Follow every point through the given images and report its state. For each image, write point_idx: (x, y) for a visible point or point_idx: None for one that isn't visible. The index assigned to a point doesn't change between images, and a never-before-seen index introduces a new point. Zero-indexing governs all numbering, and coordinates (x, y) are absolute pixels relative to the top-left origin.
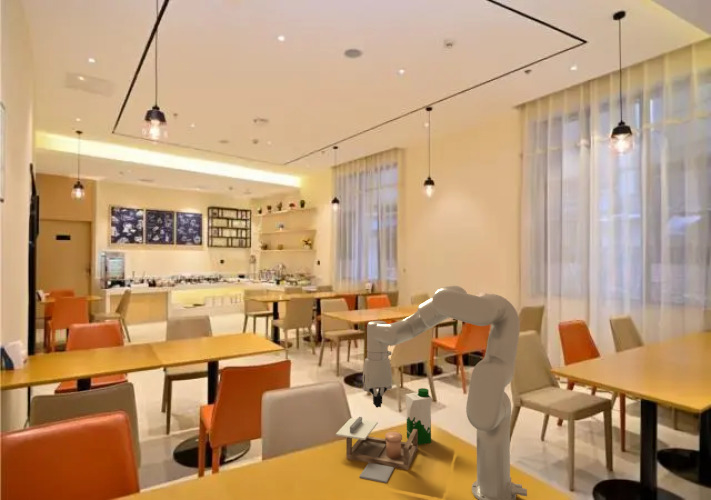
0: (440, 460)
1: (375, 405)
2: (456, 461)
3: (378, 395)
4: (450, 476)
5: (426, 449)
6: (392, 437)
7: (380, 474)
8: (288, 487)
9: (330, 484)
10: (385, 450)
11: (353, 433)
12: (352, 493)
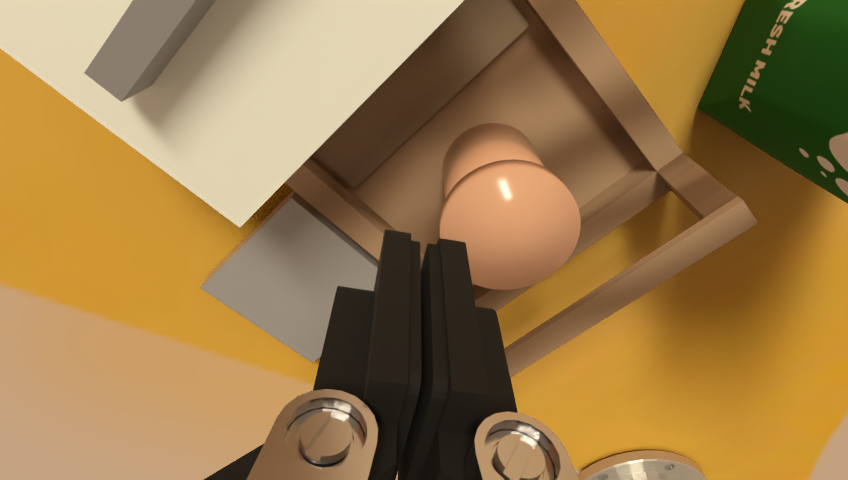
0: (685, 285)
1: (374, 289)
2: (738, 320)
3: (425, 462)
4: (603, 387)
5: (737, 160)
6: (478, 260)
7: (308, 315)
8: None
9: (53, 244)
10: (478, 89)
11: (156, 94)
12: (154, 334)
